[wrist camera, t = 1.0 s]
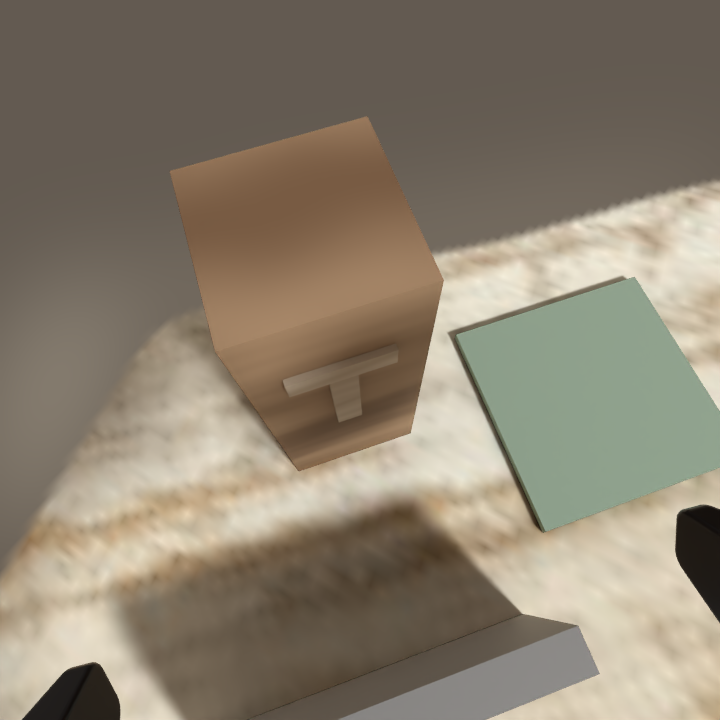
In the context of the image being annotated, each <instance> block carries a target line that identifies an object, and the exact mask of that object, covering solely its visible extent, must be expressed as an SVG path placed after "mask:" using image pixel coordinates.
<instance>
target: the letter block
mask: <svg viewBox="0 0 720 720" xmlns="http://www.w3.org/2000/svg"><path fill="white" fill-rule="evenodd" d="M170 175H171V179H172V182H173V186H174V191H175V194H176V198H177V202H178V206H179V210H180V214H181V218H182V222H183V226H184V230H185V234H186V238H187V242H188V246H189V250H190V254H191V258H192V262H193V266H194V270H195V274H196V278H197V282H198V286H199V289H200V294H201V298H202V302H203V306H204V310H205V314H206V318H207V322H208V326H209V330H210V334H211V338H212V342H213V345H214V349H215V352H216V354H217V355H218V357H219V358H220V360H221V361H222V362H223V364H224V365H225V367H226V368H227V369H228V371H229V372H230V374H231V375H232V377H233V378H234V379H235V381H236V382H237V384H238V385H239V387H240V388H241V389H242V391H243V392H244V394H245V395H246V397H247V398H248V399H249V401H250V402H251V404H252V405H253V407H254V408H255V409H256V411H257V412H258V414H259V415H260V417H261V418H262V419H263V421H264V422H265V424H266V425H267V426H268V428H269V429H270V431H271V432H272V434H273V435H274V436H275V438H276V439H277V441H278V442H279V444H280V445H281V446H282V448H283V449H284V451H285V452H286V454H287V455H288V456H289V458H290V459H291V461H292V462H293V464H294V465H295V466H296V468H297V469H298V471H301V470H304V469H307V468H310V467H313V466H316V465H319V464H321V463H324V462H327V461H330V460H333V459H336V458H339V457H342V456H345V455H348V454H351V453H354V452H357V451H360V450H363V449H366V448H368V447H371V446H374V445H377V444H380V443H383V442H386V441H389V440H392V439H395V438H398V437H401V436H404V435H407V434H410V433H411V429H412V424H413V419H414V415H415V410H416V406H417V401H418V396H419V392H420V387H421V383H422V378H423V373H424V369H425V364H426V360H427V355H428V350H429V346H430V341H431V337H432V332H433V327H434V323H435V318H436V314H437V309H438V304H439V300H440V295H441V291H442V286H443V281H444V280H443V278H442V275H441V273H440V271H439V269H438V267H437V265H436V263H435V260H434V258H433V256H432V254H431V252H430V250H429V248H428V245H427V243H426V241H425V239H424V237H423V235H422V232H421V230H420V228H419V226H418V224H417V222H416V220H415V217H414V215H413V213H412V211H411V209H410V207H409V205H408V202H407V200H406V198H405V196H404V194H403V192H402V190H401V188H400V185H399V183H398V181H397V179H396V177H395V175H394V173H393V170H392V168H391V166H390V164H389V162H388V159H387V157H386V155H385V153H384V151H383V149H382V147H381V144H380V142H379V140H378V138H377V136H376V134H375V132H374V129H373V127H372V125H371V123H370V121H369V119H368V117H363V118H359V119H356V120H353V121H349V122H345V123H342V124H338V125H335V126H331V127H327V128H323V129H320V130H317V131H313V132H309V133H305V134H302V135H298V136H295V137H291V138H287V139H284V140H280V141H277V142H273V143H269V144H266V145H262V146H258V147H255V148H251V149H248V150H244V151H240V152H237V153H233V154H230V155H226V156H223V157H219V158H215V159H211V160H208V161H204V162H201V163H197V164H193V165H190V166H186V167H183V168H179V169H175V170H172V171H170Z"/></svg>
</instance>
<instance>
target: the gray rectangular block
mask: <svg viewBox="0 0 720 720" xmlns="http://www.w3.org/2000/svg"><path fill="white" fill-rule="evenodd" d="M598 674H600V673H599V671H598V669H597V667H596V664H595V662H594V660H593V658H592V656H591V653H590V651H589V649H588V647H587V644H586V642H585V640H584V638H583V635H582V633H581V631H580V629H579V626H577V625H573V624H568V623H563V622H558V621H554V620H549V619H544V618H539V617H535V616H530V615H525V614H522V615H519V616H516V617H514V618H511V619H509V620H506V621H503V622H501V623H498V624H496V625H493V626H490V627H488V628H485V629H482V630H480V631H477V632H475V633H472V634H469V635H467V636H464V637H462V638H459V639H456V640H454V641H451V642H449V643H446V644H443V645H441V646H438V647H436V648H433V649H430V650H428V651H425V652H423V653H420V654H417V655H415V656H412V657H410V658H407V659H404V660H402V661H399V662H397V663H394V664H391V665H389V666H386V667H384V668H381V669H378V670H376V671H373V672H371V673H368V674H365V675H363V676H360V677H358V678H355V679H352V680H350V681H347V682H344V683H342V684H339V685H337V686H334V687H331V688H329V689H326V690H324V691H321V692H318V693H316V694H313V695H311V696H308V697H305V698H303V699H300V700H298V701H295V702H292V703H290V704H287V705H285V706H282V707H279V708H277V709H274V710H272V711H269V712H266V713H264V714H261V715H259V716H256V717H253V718H251V719H248V720H486V719H489V718H491V717H494V716H496V715H499V714H501V713H504V712H506V711H509V710H511V709H514V708H516V707H519V706H521V705H524V704H526V703H529V702H531V701H533V700H536V699H538V698H541V697H543V696H546V695H548V694H551V693H553V692H556V691H558V690H561V689H563V688H566V687H568V686H571V685H573V684H576V683H578V682H581V681H583V680H586V679H588V678H591V677H593V676H596V675H598Z"/></svg>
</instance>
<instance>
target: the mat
mask: <svg viewBox="0 0 720 720" xmlns="http://www.w3.org/2000/svg"><path fill="white" fill-rule="evenodd" d="M455 340H456V342H457V344H458V346H459V349H460V351H461V353H462V355H463V357H464V360H465V362H466V364H467V366H468V368H469V371H470V373H471V375H472V377H473V379H474V382H475V384H476V386H477V388H478V391H479V393H480V395H481V397H482V399H483V402H484V404H485V406H486V408H487V410H488V413H489V415H490V417H491V419H492V421H493V424H494V426H495V428H496V430H497V433H498V435H499V437H500V439H501V441H502V444H503V446H504V448H505V450H506V452H507V455H508V457H509V459H510V461H511V463H512V466H513V468H514V470H515V472H516V475H517V477H518V479H519V481H520V483H521V486H522V488H523V490H524V492H525V494H526V497H527V499H528V501H529V503H530V505H531V508H532V510H533V512H534V514H535V517H536V519H537V521H538V523H539V525H540V528H541V530H542V532H546V531H549V530H552V529H555V528H557V527H560V526H563V525H565V524H568V523H571V522H573V521H576V520H579V519H582V518H584V517H587V516H590V515H592V514H595V513H598V512H601V511H603V510H606V509H609V508H611V507H614V506H617V505H619V504H622V503H625V502H628V501H630V500H633V499H636V498H638V497H641V496H644V495H647V494H649V493H652V492H655V491H657V490H660V489H663V488H666V487H668V486H671V485H674V484H676V483H679V482H682V481H684V480H687V479H690V478H693V477H695V476H698V475H701V474H703V473H706V472H709V471H712V470H714V469H717V468H720V411H719V410H718V408H717V406H716V405H715V403H714V402H713V400H712V398H711V397H710V395H709V394H708V392H707V391H706V389H705V387H704V386H703V384H702V383H701V381H700V379H699V378H698V376H697V375H696V373H695V372H694V370H693V368H692V367H691V365H690V364H689V362H688V361H687V359H686V357H685V356H684V354H683V353H682V351H681V349H680V348H679V346H678V345H677V343H676V342H675V340H674V338H673V337H672V335H671V334H670V332H669V330H668V329H667V327H666V326H665V324H664V323H663V321H662V319H661V318H660V316H659V315H658V313H657V312H656V310H655V308H654V307H653V305H652V304H651V302H650V300H649V299H648V297H647V296H646V294H645V293H644V291H643V289H642V288H641V286H640V285H639V283H638V281H637V280H636V278H635V277H632V278H629V279H626V280H623V281H620V282H617V283H614V284H611V285H608V286H605V287H602V288H598V289H595V290H592V291H589V292H586V293H583V294H580V295H577V296H574V297H571V298H568V299H565V300H561V301H558V302H555V303H552V304H549V305H546V306H543V307H540V308H537V309H534V310H531V311H528V312H525V313H521V314H518V315H515V316H512V317H509V318H506V319H503V320H500V321H497V322H494V323H491V324H488V325H484V326H481V327H478V328H475V329H472V330H469V331H466V332H463V333H460V334H457V335H456V337H455Z"/></svg>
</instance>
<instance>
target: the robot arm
mask: <svg viewBox="0 0 720 720" xmlns="http://www.w3.org/2000/svg"><path fill="white" fill-rule="evenodd" d="M675 552H676V557H677V560H678V562H679V564H680V566H681V567H682V569H683V570H684V572H685V573H686V575H687V576H688V578H689V579H690V581H691V582H692V584H693V585H694V586H695V588H696V589H697V591H698V592H699V594H700V595H701V597H702V598H703V599H704V601H705V602H706V604H707V605H708V607H709V608H710V610H711V611H712V613H713V614H714V615H715V617H716V618H717V620H718V621H719V623H720V509H718V508H715V507H712V506H709V505H698V506H695V507H691V508H687V509H683V510H681V511H680V512H679V513H678V515H677V523H676V544H675ZM22 720H120V703H119V699H118V696H117V694H116V693H115V691H114V689H113V687H112V685H111V683H110V681H109V679H108V677H107V676H106V674H105V672H104V670H103V668H102V667H101V665H100V664H98V663H96V662H91V663H87V664H84V665H80V666H76V667H72V668H70V669H68V670H66V671H65V672H64V673H63V674H62V675H61V676H60V677H59V678H58V679H57V680H56V682H55V683H54V684H53V685H52V686H51V687H50V688H49V690H48V691H47V692H46V693H45V694H44V695H43V696H42V698H41V699H40V700H39V701H38V702H37V703H36V704H35V705H34V707H33V708H32V709H31V710H30V711H29V712H28V713H27V715H26V716H25V717H24V718H23V719H22Z"/></svg>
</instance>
